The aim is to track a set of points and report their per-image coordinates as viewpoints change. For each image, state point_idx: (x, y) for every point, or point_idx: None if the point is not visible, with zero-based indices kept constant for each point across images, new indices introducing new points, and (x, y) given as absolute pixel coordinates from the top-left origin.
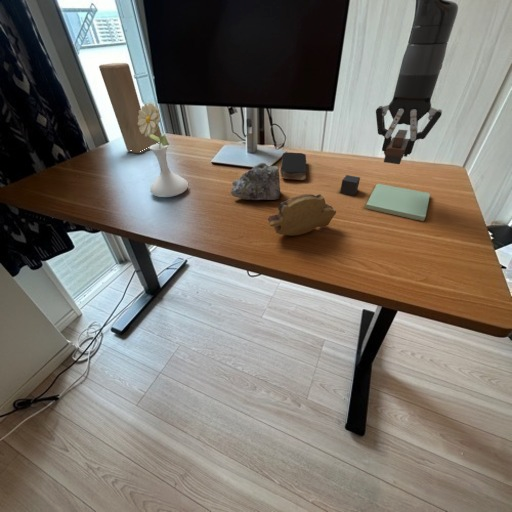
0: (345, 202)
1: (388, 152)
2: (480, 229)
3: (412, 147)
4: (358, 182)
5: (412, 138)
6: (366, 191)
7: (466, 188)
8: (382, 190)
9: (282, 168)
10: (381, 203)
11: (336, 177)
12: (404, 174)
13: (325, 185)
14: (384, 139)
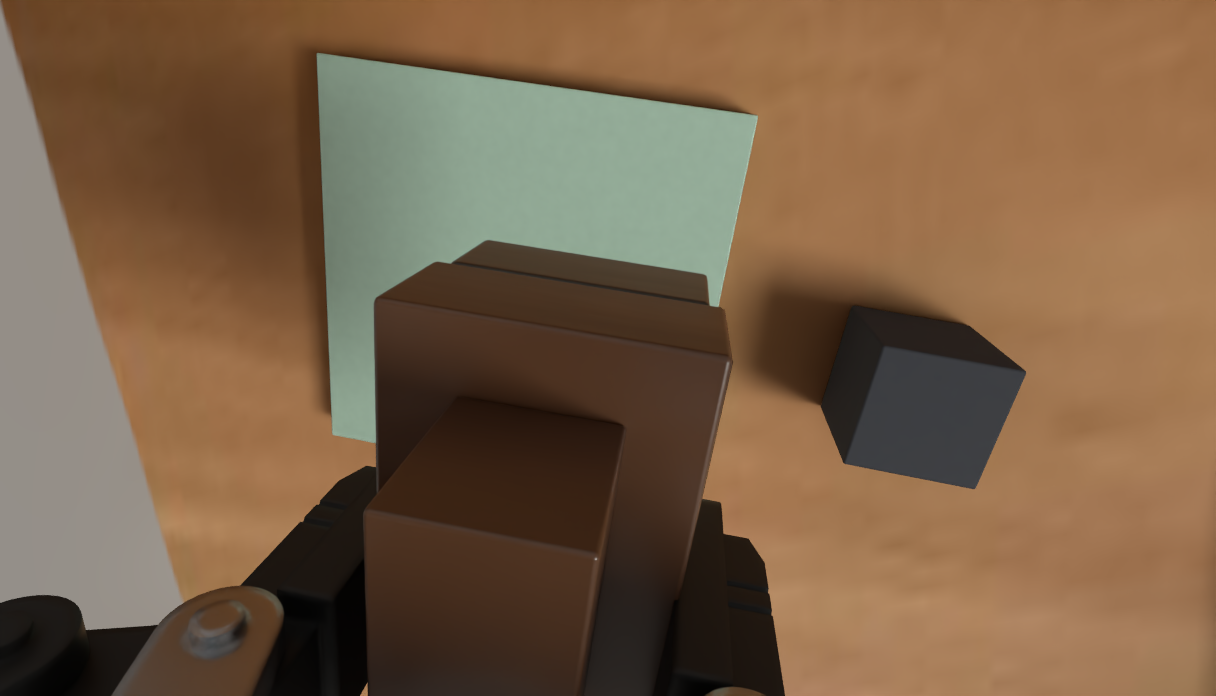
0: (924, 169)
1: (669, 321)
2: (34, 80)
3: (300, 526)
4: (846, 416)
5: (228, 621)
6: (748, 404)
7: (180, 571)
8: None
9: None
10: (634, 173)
11: (990, 579)
12: None
13: (1099, 429)
14: (781, 693)
